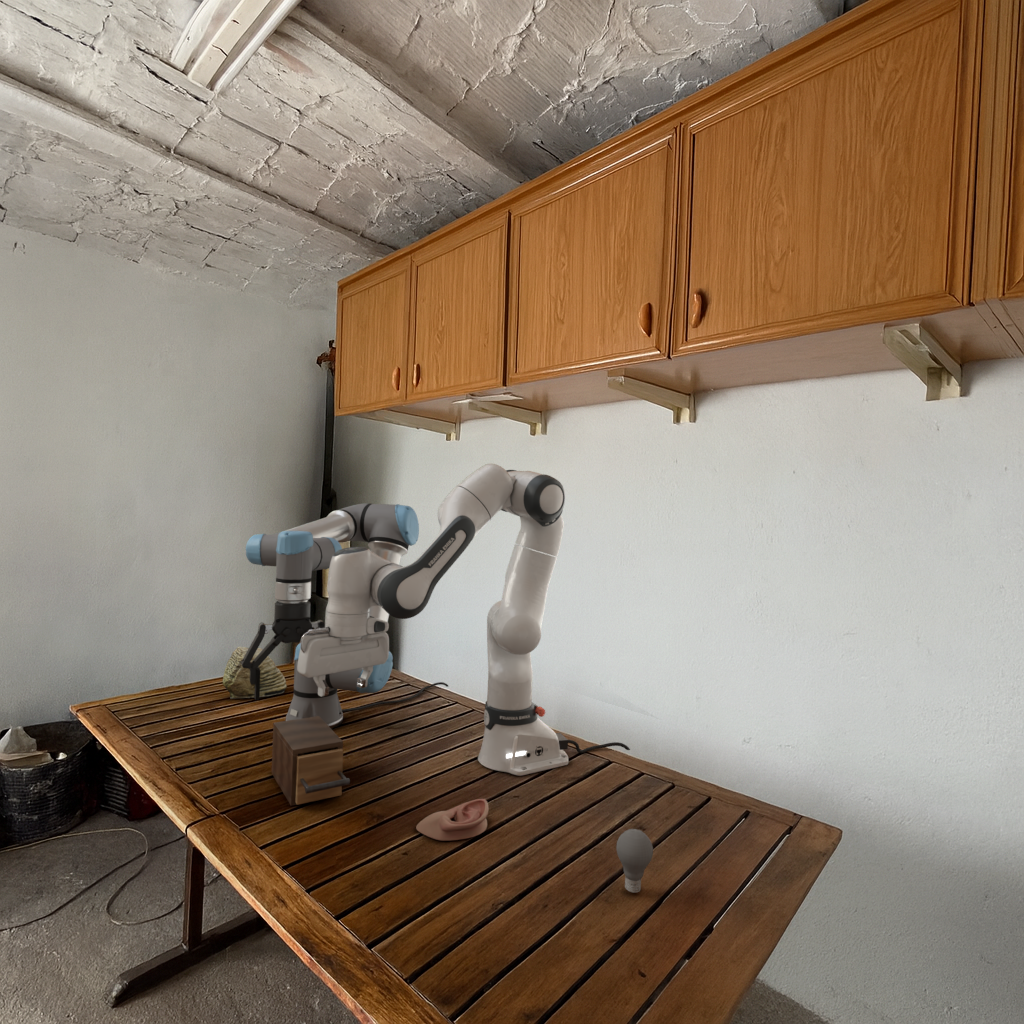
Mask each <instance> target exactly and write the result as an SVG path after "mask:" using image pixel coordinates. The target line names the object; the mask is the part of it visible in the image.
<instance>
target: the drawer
mask: <svg viewBox="0 0 1024 1024" xmlns="http://www.w3.org/2000/svg"><path fill="white" fill-rule="evenodd" d="M343 767H344V749H343V750H342V748H341V749H336V750H334V748H330V749H324V750H319V751H313V752H308V753H302V754H298V756H297V776H296V804H297V805H302V804H307V803H312V802H316V801H322V800H325V799H330V798H334V797H338V796H342V795H343V793H342V792H343V789H342V788H343V787H345V786H349V785H350V784H351V780H350V777H346V776H345V775H344V773H343V771H344V770H343V769H344V768H343ZM297 805H296V806H297Z"/></svg>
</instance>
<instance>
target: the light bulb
mask: <svg viewBox="0 0 1024 1024" xmlns="http://www.w3.org/2000/svg"><path fill="white" fill-rule="evenodd" d="M615 849H616V854H617V857H618V859H619V861H620V863H621V865H622V867H623V873H624V874H623V875H624V876H625V878H624V888H625V890H627V891H628V892H630V893H634V894H635V893H639V892H640V891H641V889H642V887H641V886H642V879H643V877H644V875H645V871H646V868H647V867H648V866H649V864H650V863H651V861H652V859H653V855H654V847H653V843H652V841H651V838H649V836H648V835H647V834H646V833H645V832H643V831H642V830H641V829H636V828H629V829H627V830H625V831H623V832H622V833H621V834H620V835H619V837H618V839H617V841H616V847H615Z"/></svg>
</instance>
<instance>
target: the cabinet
mask: <svg viewBox="0 0 1024 1024" xmlns="http://www.w3.org/2000/svg"><path fill="white" fill-rule="evenodd" d="M272 727H273V728H272V729H273V730H272V753H271V775H272V776H273V778H274V779H275V782H276V783H277V785H278V787H279V788H280V789H281V792H282V793H283V795H284V797H285V798H286V800H287V802H288V803H289V805H290V807H294V806H297V804H296V776H297V756H298V754H302V753H308V752H313V751H319V750H324V749H330V748H334V750H336V749H341V748H342V750H343V751H344V749H343V746H344V740H342V739H341V738H340V736H338V734H336V732H335V731H334V730H333V729H331V728H330V727H329V726H328V725H327V724H326V723H325V722H324V721H323V720H322V719H321V717H320V716H316V717H309V718H302V719H295V720H289V721H286V720H283V721H282V720H281V721H275V722H273V726H272Z"/></svg>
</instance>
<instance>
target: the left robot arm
mask: <svg viewBox="0 0 1024 1024" xmlns="http://www.w3.org/2000/svg"><path fill="white" fill-rule="evenodd" d="M419 535H420V523H419V519H418V515H417V512H416V510H414V508H413V507H411V506H410V505H404V504H400V503H397V504H396V503H395V504H392V503H391V504H388V503H387V504H386V503H370V502H365V503H357V504H353V505H349V506H345V507H343V508H338V509H336V510H333V511H331V512H330V513H328V515H327V516H326V517H323V518H320V519H317V520H313V521H310V522H307V523H303V524H301V525H297V526H295V527H291V528H287V529H286V530H283V531H279V532H276V533H272V534H267V533H259V534H257V533H255V534H253V535H252V536H250V537H249V539H248V540H247V541H246V545H245V556H246V558H247V560H248V562H249V563H251V564H253V565H257V566H258V565H259V566H261V567H275V569H276V570H275V571H276V577H275V588H274V589H275V591H274V599H275V600H276V601H275V602H274V615H273V616H274V619H273V622H272V623H264V622H260V623H258V628H257V632H256V634H255V636H254V638H253V640H252V641H251V644H250V645H249V647H248V648H249V649H248V651H247V652H246V654H245V656H244V658H243V660H242V661H241V664H242V667H243V668H248V669H250V683H251V685H253V684H255V692H254V697H253V698H254V700H255V701H260V697H259V696H260V668H259V665H260V664H261V663H262V662H263V661H264V660H265V659H266V658H267V656H269V655H270V654H272V652H273V651H274V650H275V649H276V648H277V647H278V646H279V645H280V644H281V643H284V644H290V643H296V644H297V643H298V644H297V645H296V647H295V652H294V653H295V654H294V659H293V660H294V672H293V695H292V696H293V697H292V699H291V702H290V704H289V708H288V711H287V713H286V715H285V721H289V720H295V719H302V718H309V717H316V716H320V717H321V719H322V720H323V721H324V722H325V723H326V724H327V725H328V726H329V727H330V728H331V729H332V730H333V729H335V728H337V727H339V726H340V725H342V723H343V722H344V714H343V713H346V712H355V711H360V710H364V709H368V708H371V707H376V706H381V705H388V704H398V703H403V702H406V701H410V700H412V699H414V698H416V697H418V696H420V695H421V694H422V693H423V691H425V690H427V689H431V688H433V687H436V686H438V685H439V686H440V685H441V686H442V685H443V686H445V687H449V684H447V683H446V682H443V681H438V682H434V683H432V684H430V685H431V686H429V685H426V686H423V687H422V688H420V690H419V691H418V692H416V693H415V694H413V695H411V696H408V697H406V698H402V699H396V700H395V699H394V700H385V701H379V702H373V703H370V704H367V705H363V706H358V707H351V708H342V706H341V702H340V699H339V695H338V690H342V691H350V692H358V693H361V694H364V693H367V694H374V693H375V694H376V693H378V692H380V691H381V690H382V689H383V688H384V687H385V685H386V684H387V683H388V681H389V679H390V676H391V674H392V670H393V666H394V662H393V659H394V657H393V653H392V652H391V651H389V656H388V659H387V661H386V662H385V663H384V664H380V665H374V666H373V671H372V673H371V675H370V677H369V678H368V683H367V687H364V688H360V687H357V678H360V677H361V675H362V672H363V669H362V668H358V669H353V670H348V671H342V672H337V673H332V674H327V675H325V680H323V682H324V685H325V686H328V687H329V691H328V692H329V695H327V696H323V697H321V696H319V695H318V686H317V684H316V683H315V681H314V679H313V677H311V678H307V677H304V676H302V675H300V673H299V672H298V671H297V665H298V658H299V653H300V648H301V647H300V645H301V637H302V636H303V635H304V634H305V633H306V632H308V630H311V629H320V628H325V621H324V620H322V619H318V620H317V621H311V602H310V599H311V597H312V596H311V595H312V574H313V573H312V572H314V571H321V570H329V567H330V562H331V559H332V556H333V555H334V553H336V552H337V551H338V550H341V549H343V548H342V545H341V544H343V543H347V542H364V543H367V547H368V548H369V549H370V550H371V551H372V552H373V553H375V554H376V555H378V556H379V557H381V558H383V559H385V560H388V561H390V562H392V563H395V564H398V565H401V559H402V557H404V556H405V555H406V554H408V551H409V547H410V546H414V545H416V544H417V542H418V540H419V537H420V536H419ZM369 616H372V617H374V618H377V619H380V620H383V621H386V622H388V623H389V617H390V615H389V614H388V613H387V612H386V611H385V610H384V609H383V608H381V607H380V606H371V607H370V611H369ZM270 631H272V632H273V633H274V634H275V635H274V636H273V637H272V638H271V639H270V641H269V642H268V643H267V644H266V645H265V647H263V648H262V649H263V650H262V651H261V652H260V653H259V654H258V656H257V657H256V658H255V659H254V660H253V661H252V662H250V661H251V660H252V658H253V656H254V654H255V652H256V651H257V649H258V648H260V645H261V643H262V642H263V639H264V638H265V635H267V634H269V632H270Z"/></svg>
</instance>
